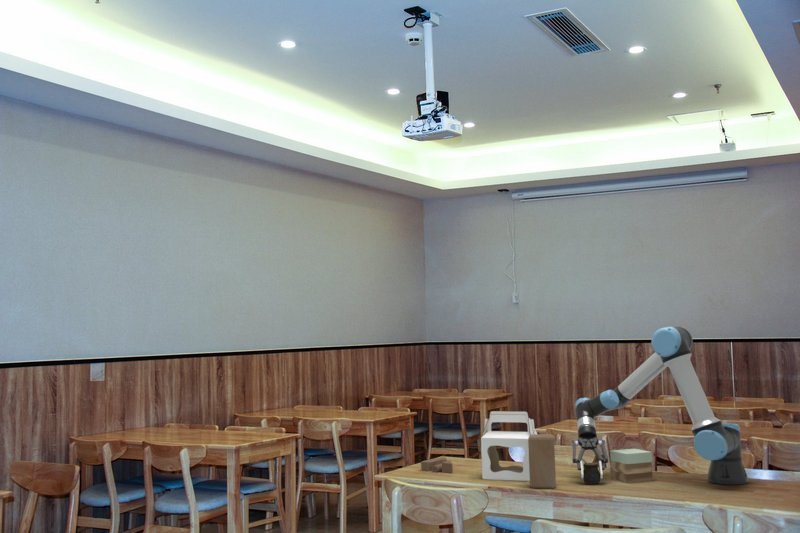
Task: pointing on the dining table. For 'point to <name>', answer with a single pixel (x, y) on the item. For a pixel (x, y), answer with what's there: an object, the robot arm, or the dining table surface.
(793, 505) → the dining table surface
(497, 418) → the gable box
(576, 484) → the dining table surface
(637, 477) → the slab bottom
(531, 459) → the block
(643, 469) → the slab middle
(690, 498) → the dining table surface
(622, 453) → the slab top
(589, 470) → the mate gourd
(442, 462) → the wooden block set
